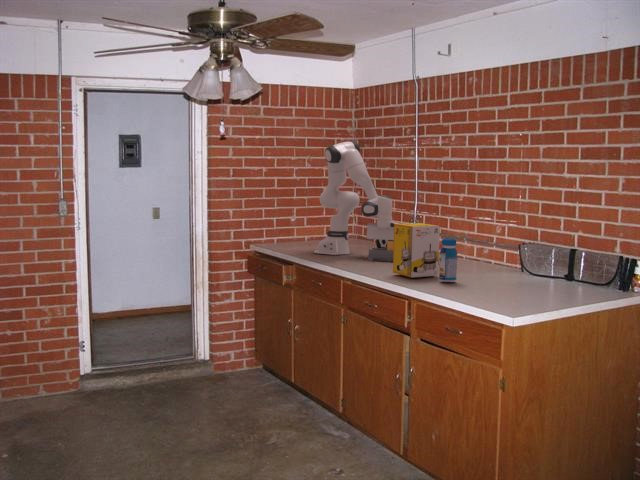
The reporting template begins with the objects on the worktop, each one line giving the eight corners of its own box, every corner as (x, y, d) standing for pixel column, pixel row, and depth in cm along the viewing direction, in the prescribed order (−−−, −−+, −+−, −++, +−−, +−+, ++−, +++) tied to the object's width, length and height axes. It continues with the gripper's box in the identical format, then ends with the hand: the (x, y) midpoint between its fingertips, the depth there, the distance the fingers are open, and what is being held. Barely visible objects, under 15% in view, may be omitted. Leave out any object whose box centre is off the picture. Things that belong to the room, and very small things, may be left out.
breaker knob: (387, 255, 387) (387, 241, 387) (389, 254, 392) (389, 240, 391) (393, 255, 386) (394, 242, 385) (395, 254, 391) (396, 241, 390)
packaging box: (411, 277, 330) (412, 226, 327) (392, 272, 344) (394, 223, 342) (438, 275, 338) (439, 225, 335) (419, 270, 352) (420, 223, 349)
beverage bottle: (452, 282, 317) (454, 240, 315) (435, 280, 321) (437, 239, 319) (459, 280, 324) (460, 238, 322) (442, 278, 328) (444, 237, 326)
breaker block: (367, 260, 386) (367, 250, 385) (374, 257, 401) (374, 247, 401) (405, 263, 378) (405, 252, 378) (411, 259, 394) (411, 249, 393)
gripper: (365, 223, 389) (364, 247, 390) (400, 224, 382) (399, 249, 383) (368, 222, 395) (367, 245, 396) (402, 223, 388) (402, 247, 389)
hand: (383, 247), depth 390 cm, fingers closed
